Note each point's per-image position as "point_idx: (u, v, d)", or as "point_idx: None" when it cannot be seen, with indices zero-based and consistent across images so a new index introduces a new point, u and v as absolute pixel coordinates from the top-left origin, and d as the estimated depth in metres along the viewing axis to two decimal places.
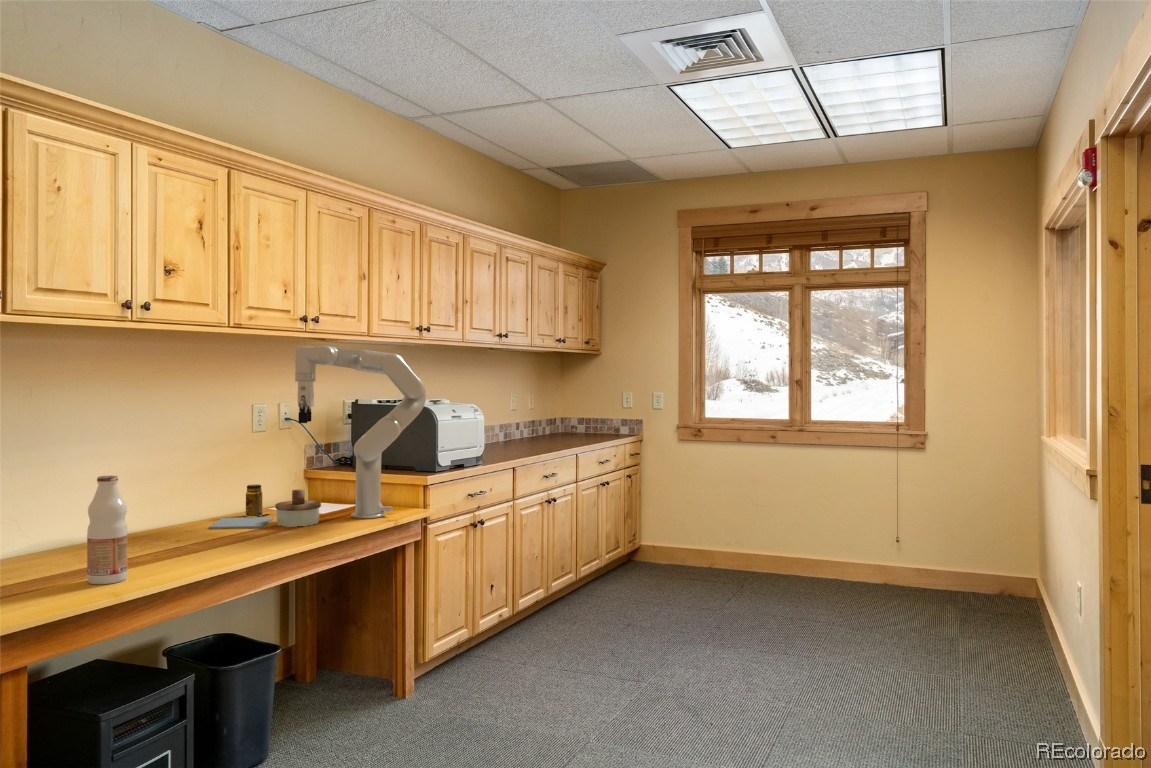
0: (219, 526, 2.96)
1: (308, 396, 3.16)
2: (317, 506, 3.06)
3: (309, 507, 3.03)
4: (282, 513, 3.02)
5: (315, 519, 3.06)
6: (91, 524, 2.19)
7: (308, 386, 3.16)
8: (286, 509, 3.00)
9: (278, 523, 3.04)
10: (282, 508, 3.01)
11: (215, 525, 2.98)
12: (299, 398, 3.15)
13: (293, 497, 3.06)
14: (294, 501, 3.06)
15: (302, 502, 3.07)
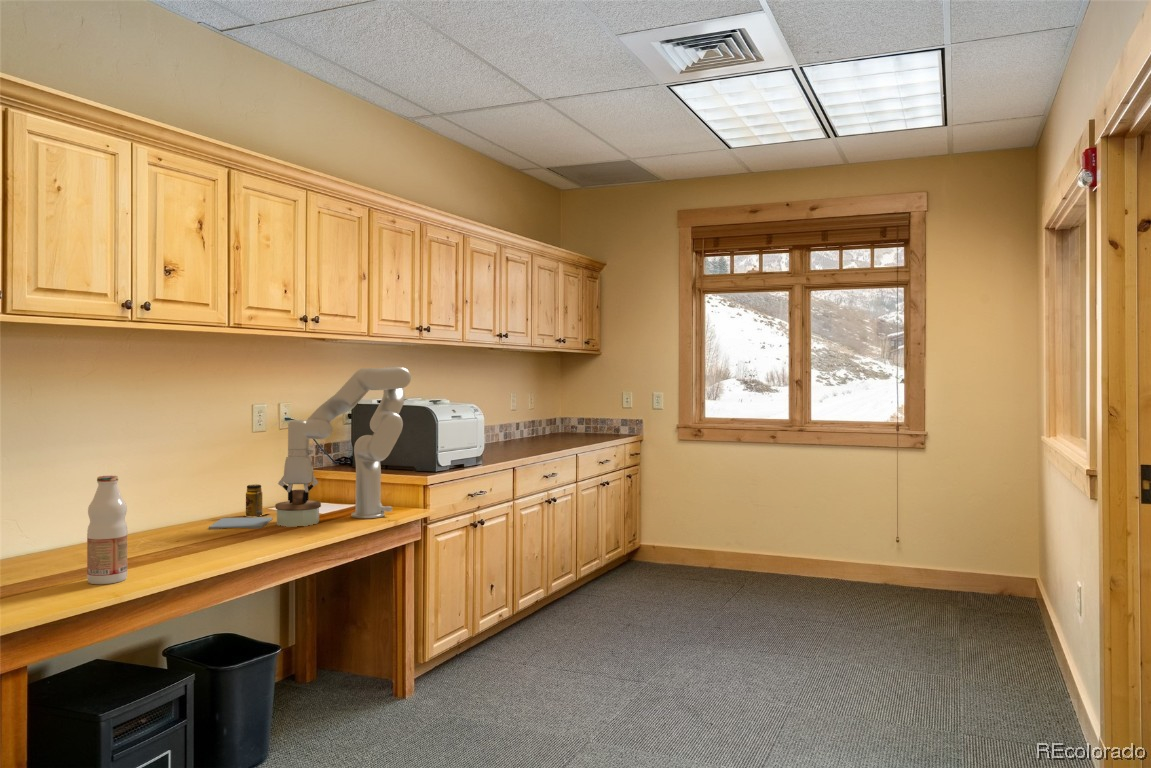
0: (219, 526, 2.96)
1: None
2: (317, 506, 3.06)
3: (309, 507, 3.03)
4: (282, 513, 3.02)
5: (315, 519, 3.06)
6: (91, 524, 2.19)
7: None
8: (286, 509, 3.00)
9: (278, 523, 3.04)
10: (282, 508, 3.01)
11: (215, 525, 2.98)
12: (311, 474, 3.07)
13: (293, 497, 3.06)
14: (294, 501, 3.06)
15: (302, 502, 3.07)
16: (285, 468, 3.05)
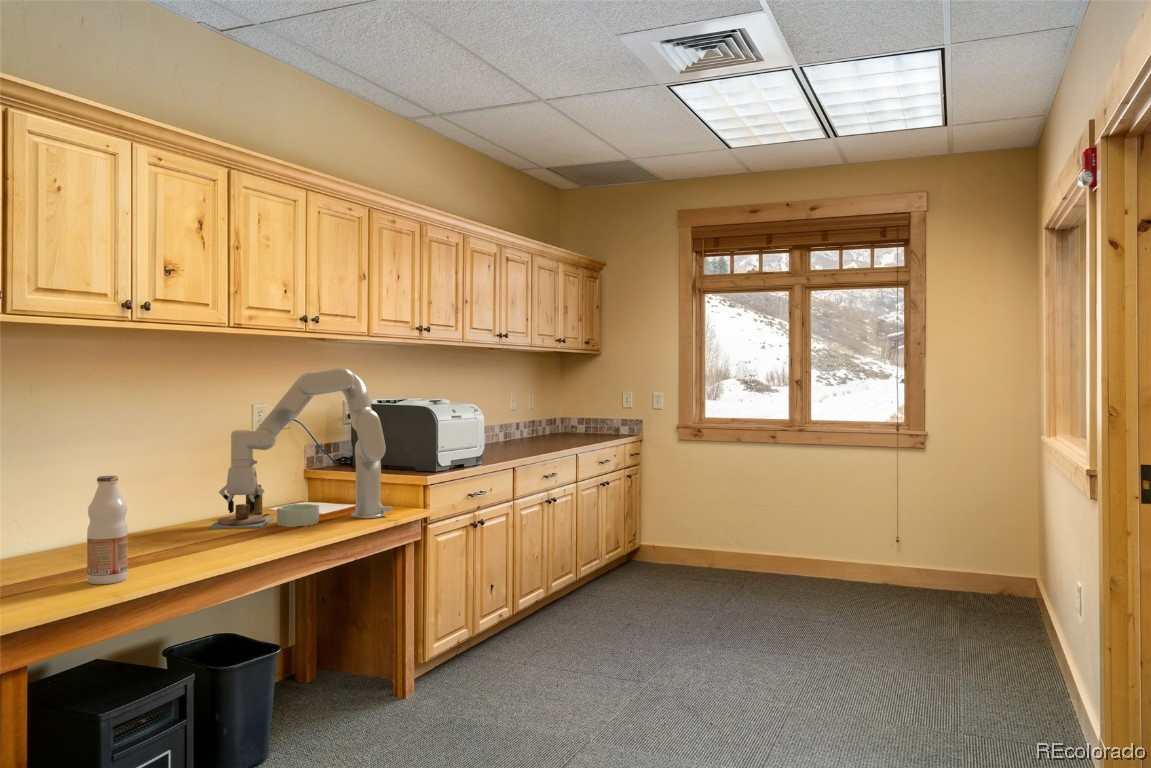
0: (219, 526, 2.96)
1: None
2: (260, 521, 3.03)
3: (252, 522, 3.00)
4: (282, 513, 3.02)
5: (315, 519, 3.06)
6: (91, 524, 2.19)
7: None
8: (228, 524, 2.97)
9: (278, 523, 3.04)
10: (224, 523, 2.98)
11: (215, 525, 2.98)
12: (255, 485, 3.04)
13: (236, 512, 3.03)
14: (237, 516, 3.03)
15: (246, 517, 3.04)
16: (228, 479, 3.02)
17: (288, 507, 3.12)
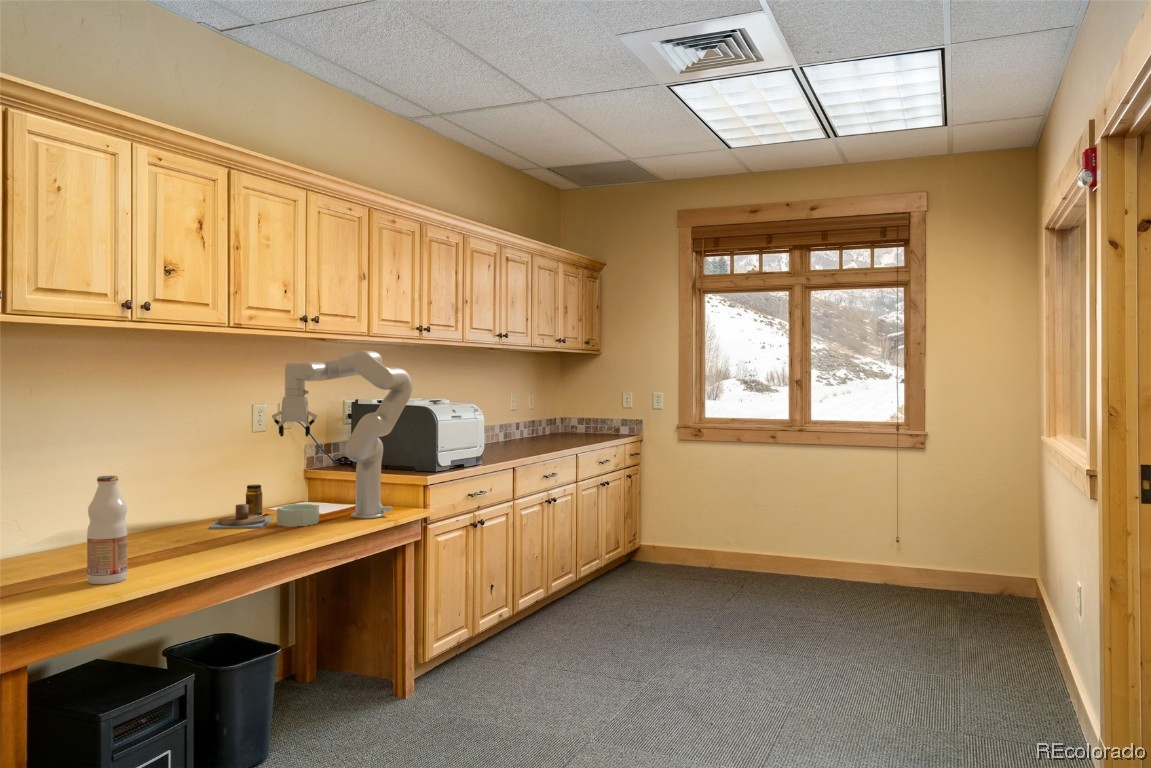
0: (219, 526, 2.96)
1: None
2: (260, 521, 3.03)
3: (252, 522, 3.00)
4: (282, 513, 3.02)
5: (315, 519, 3.06)
6: (91, 524, 2.19)
7: None
8: (228, 524, 2.97)
9: (278, 523, 3.04)
10: (224, 523, 2.98)
11: (215, 525, 2.98)
12: (306, 413, 3.31)
13: (236, 512, 3.03)
14: (237, 516, 3.03)
15: (245, 517, 3.04)
16: (282, 406, 3.29)
17: (288, 507, 3.12)
